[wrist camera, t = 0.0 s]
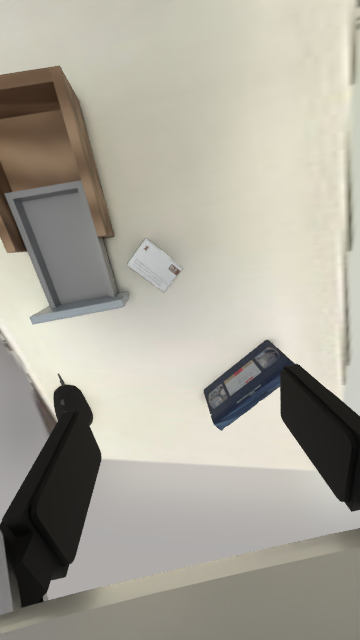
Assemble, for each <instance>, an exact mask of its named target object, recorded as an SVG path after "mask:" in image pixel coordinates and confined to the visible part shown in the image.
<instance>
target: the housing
mask: <svg viewBox="0 0 360 640" xmlns="http://www.w3.org/2000/svg"><path fill="white" fill-rule="evenodd" d="M80 180H81V181H82V184H83V188H84V191H85V194H86V198H87V201H88V205H89V208H90V212H91V215H92V219H93V222H94V226H95V229H96V233H97V236H98V237H102V238H103V239H104V238H109V237H114V233H113V230H112V226H111V222H110V218H109V214H108V210H107V207H106V203H105V199H104V195H103V191H102V187H101V184H100V180H99V176H98V172H97V168H96V164H95V161H94V157H93V153H92V149H91V145H90V141H89V138H88V134H87V130H86V126H85V122H84V118H83V115H82V111H81V107H80V103H79V100H78V98H77V96H76V94H75V92H74V91H73V89H72V87H71V85H70V83H69V82H68V80H67V78H66V76H65V74H64V73H63V71H62V69H61V67H60V66H55V67H48V68H42V69H35V70H29V71H22V72H16V73H10V74H3V75H0V238H1V240H2V242H3V244H4V247H5V249H6V251H7V253H13V252H28V251H27V248H26V246H25V243H24V241H23V239H22V236H21V234H20V231H19V229H18V226H17V224H16V221H15V219H14V216H13V214H12V211H11V209H10V206H9V204H8V201H7V199H6V197H5V194H4V193H10V192H16V191H22V190H28V189H33V188H39V187H45V186H51V185H57V184H62V183H68V182H74V181H80Z"/></svg>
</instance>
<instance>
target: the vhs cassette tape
mask: <svg viewBox="0 0 360 640" xmlns="http://www.w3.org/2000/svg"><path fill="white" fill-rule="evenodd" d="M293 364H294V363H293V362H292V361H291V360H290V359H289V358H288V357H287V356H286V355H285V354H283V353H282V352H281V351H280V350H279V349H278V348H277V347H275V346H274V345H273V344H272V343H271V342H270V341H269V340H266V341H264V342H263V343H262V344H260V345H259V346H258V347H257V348H255V349H254V350H253V351H252V352H250V353H249V354H248V355H246V356H245V357H244V358H243V359H242V360H240V361H239V362H238V363H236V364H235V365H234V366H233V367H232V368H230V369H229V370H228V371H227V372H225V373H224V374H223V375H222V376H220V377H219V378H218V379H217V380H215V381H214V382H213V383H212V384H210V385H209V386H208V387H207V388H206V389H204V394H205V397H206V401H207V404H208V407H209V411H210V414H212V415H211V418H212V421H213V423H214V425H215V426H216V427H217V428H218V429H220V430H221V431H222V430H223V429H224V428H225V427H226V426H228V425H230V424H231V423H232V422H234V421H235V420H236V419H238V418H239V417H240V416H241V415H243V414H244V413H246V412H247V411H248V410H250V409H251V408H252V407H254V406H255V405H256V404H257V403H258V402H259V401H261V400H263V399H264V398H265V397H267V396H268V395H269V394H271V393H272V392H273V391H275V390H276V389H277V388H278V387H280V371H281V370H283V368H284V366H288V365H293Z"/></svg>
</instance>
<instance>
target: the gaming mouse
mask: <svg viewBox="0 0 360 640" xmlns="http://www.w3.org/2000/svg"><path fill="white" fill-rule="evenodd" d="M58 376H59V378H60V383H61V385H62V386H60V387H59V388H58V389H57V390H55V392H54V408H55V413H56V417H57V419H58V421H59V419H60V417H61V415H62V414H63V413H64V412H66V411H71V410H75V409H78V410H79V411H80V412H83V413H84V415H85V417H86V419H87V421H88V424H89V426H90V425H91V423H92V420H93V415H92V411H91V409H90V407H89V405H88V403H87V402H86V400H85V398H84V396H83V394H82V392H81V390H79V389H78V388H77V387H76V386H71V385H65V384H64V381H63V380H62V378H61V376H60V375H59V373H58Z"/></svg>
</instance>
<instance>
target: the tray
mask: <svg viewBox="0 0 360 640" xmlns="http://www.w3.org/2000/svg"><path fill="white" fill-rule="evenodd" d="M4 194H5V197H6V199H7V201H8V204H9V206H10V209H11V211H12V214H13V216H14V219H15V221H16V224H17V226H18V229H19V231H20V234H21V236H22V239H23V241H24V243H25V246H26V248H27V251H28V253H29V256H30V258H31V261H32V263H33V266H34V268H35V271H36V273H37V276H38V278H39V281H40V283H41V285H42V288H43V290H44V293H45V295H46V298H47V300H48V303H49V305H50V306H48V307H47V308H45V309H43V310H41V311H40V312H38V313H36V314H34V315H32V316H31V317H30V320H31V322H32V324H38V323H43V322H48V321H54V320H59V319H64V318H69V317H75V316H80V315H85V314H90V313H96V312H101V311H106V310H111V309H117V308H122V307H124V306H125V304H126V302H127V300H128V299H129V296H128V292H122V293H118V292H117V288H116V285H115V281H114V278H113V274H112V271H111V267H110V263H109V260H108V256H107V253H106V249H105V246H104V242H103V238H102V237H98V236H97V233H96V229H95V226H94V222H93V219H92V215H91V212H90V208H89V205H88V201H87V198H86V194H85V191H84V188H83V184H82V181H81V180H80V181H74V182H68V183H62V184H57V185H51V186H45V187H39V188H33V189H28V190H22V191H16V192H10V193H4Z"/></svg>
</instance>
